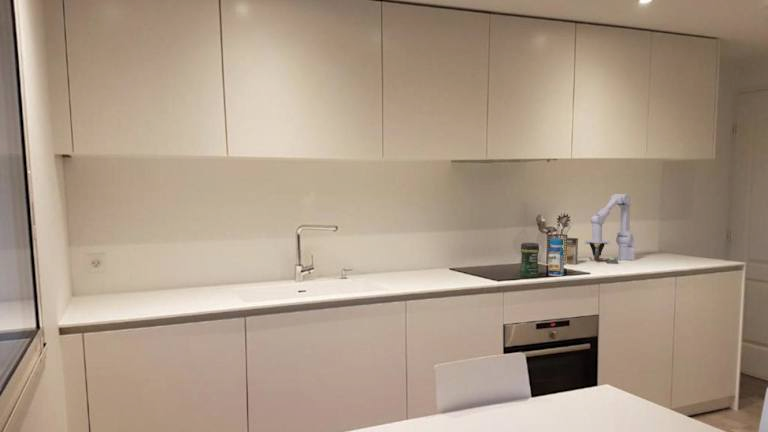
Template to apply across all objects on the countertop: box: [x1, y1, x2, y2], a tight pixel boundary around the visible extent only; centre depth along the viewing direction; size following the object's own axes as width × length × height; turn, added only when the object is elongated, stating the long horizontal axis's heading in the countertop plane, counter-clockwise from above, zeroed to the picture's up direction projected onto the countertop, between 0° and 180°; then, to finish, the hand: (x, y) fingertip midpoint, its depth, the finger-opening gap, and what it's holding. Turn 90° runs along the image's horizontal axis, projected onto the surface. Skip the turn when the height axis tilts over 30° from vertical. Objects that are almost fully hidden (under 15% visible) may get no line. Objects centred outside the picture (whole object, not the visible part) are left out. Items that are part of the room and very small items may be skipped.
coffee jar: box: [519, 242, 540, 278], centre depth 286 cm, size 10×8×19 cm
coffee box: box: [566, 237, 579, 265], centre depth 330 cm, size 9×6×16 cm
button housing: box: [605, 258, 619, 265], centre depth 331 cm, size 6×6×2 cm
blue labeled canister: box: [547, 238, 565, 277], centre depth 289 cm, size 8×8×20 cm
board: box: [588, 256, 609, 262], centre depth 343 cm, size 12×10×1 cm
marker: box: [593, 244, 600, 260], centre depth 333 cm, size 3×3×10 cm
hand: (596, 255), depth 334 cm, fingers closed on marker, 3 cm apart
